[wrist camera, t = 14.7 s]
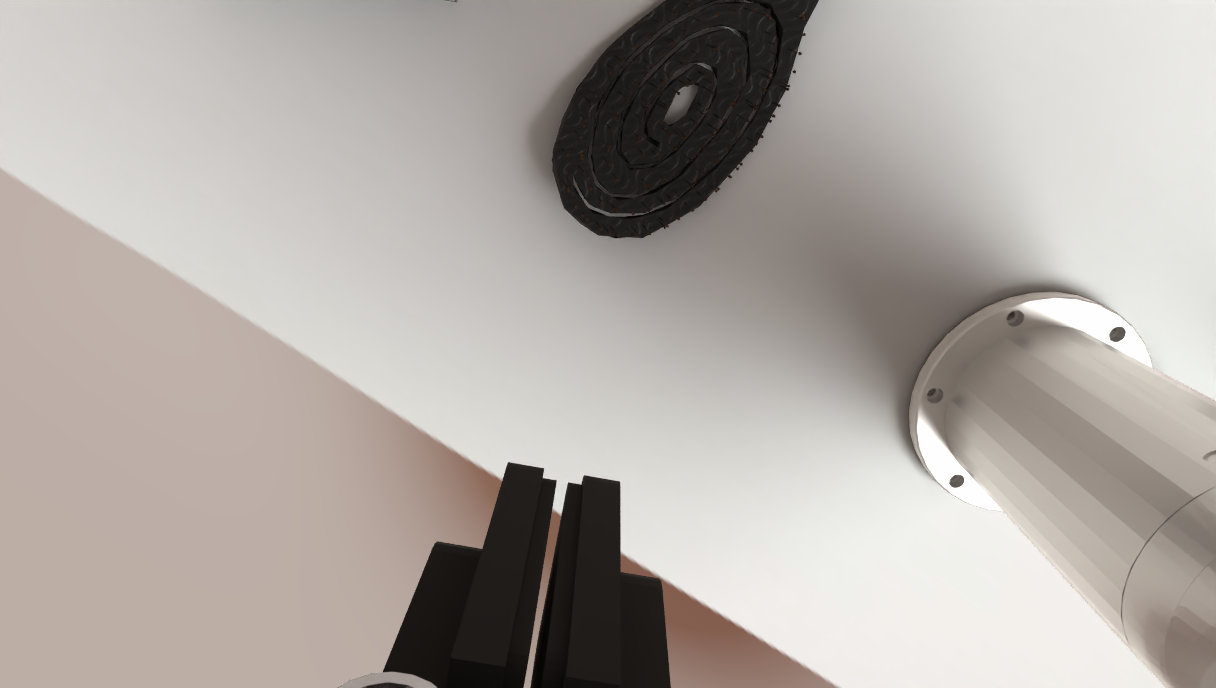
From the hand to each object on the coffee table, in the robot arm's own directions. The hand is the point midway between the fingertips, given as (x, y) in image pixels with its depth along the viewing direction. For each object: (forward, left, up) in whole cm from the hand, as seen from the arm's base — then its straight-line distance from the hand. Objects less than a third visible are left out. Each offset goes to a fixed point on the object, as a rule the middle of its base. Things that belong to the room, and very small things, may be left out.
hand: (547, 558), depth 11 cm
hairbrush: (-7, -11, -29) cm, 31 cm away
